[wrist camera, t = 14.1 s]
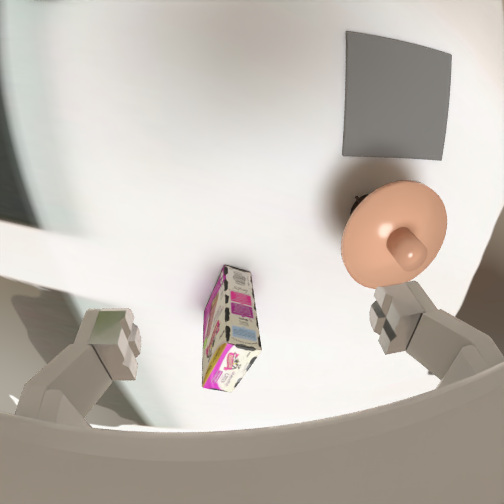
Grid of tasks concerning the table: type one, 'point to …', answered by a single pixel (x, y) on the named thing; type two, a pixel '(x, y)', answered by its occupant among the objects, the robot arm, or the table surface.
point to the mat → (395, 98)
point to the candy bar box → (229, 331)
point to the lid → (393, 234)
